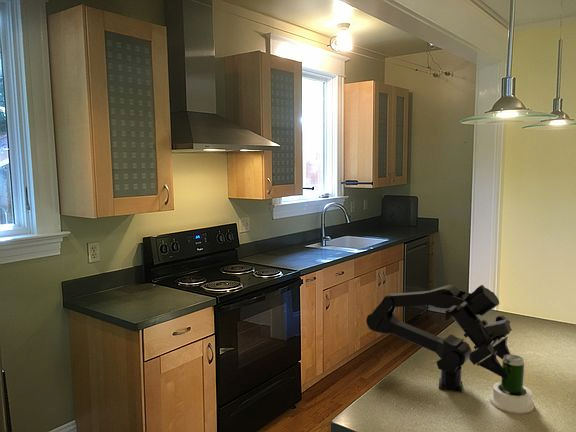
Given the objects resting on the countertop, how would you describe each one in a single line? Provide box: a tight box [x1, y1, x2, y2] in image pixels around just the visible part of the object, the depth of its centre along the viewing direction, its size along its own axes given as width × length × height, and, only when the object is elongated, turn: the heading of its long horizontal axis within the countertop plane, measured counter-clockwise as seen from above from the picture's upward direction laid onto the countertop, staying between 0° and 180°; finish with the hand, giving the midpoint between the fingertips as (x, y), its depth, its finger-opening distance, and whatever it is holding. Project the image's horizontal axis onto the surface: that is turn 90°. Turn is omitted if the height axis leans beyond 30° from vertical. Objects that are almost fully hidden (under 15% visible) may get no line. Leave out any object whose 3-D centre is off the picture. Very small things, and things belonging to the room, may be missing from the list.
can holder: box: [489, 381, 535, 415], centre depth 131 cm, size 11×11×4 cm
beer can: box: [500, 353, 525, 396], centre depth 130 cm, size 5×5×12 cm
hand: (510, 371), depth 130 cm, fingers open, 9 cm apart
